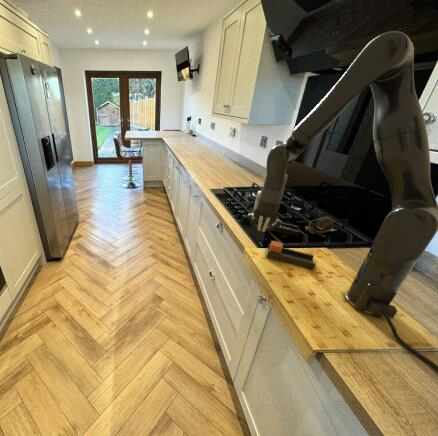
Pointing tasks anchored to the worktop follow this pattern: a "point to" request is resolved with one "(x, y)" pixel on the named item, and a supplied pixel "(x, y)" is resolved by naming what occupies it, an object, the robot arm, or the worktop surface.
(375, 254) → the robot arm
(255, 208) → the sprinkles bottle
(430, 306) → the worktop surface
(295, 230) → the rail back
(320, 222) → the brown lumpy chunk
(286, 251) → the rail front
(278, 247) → the red cube
